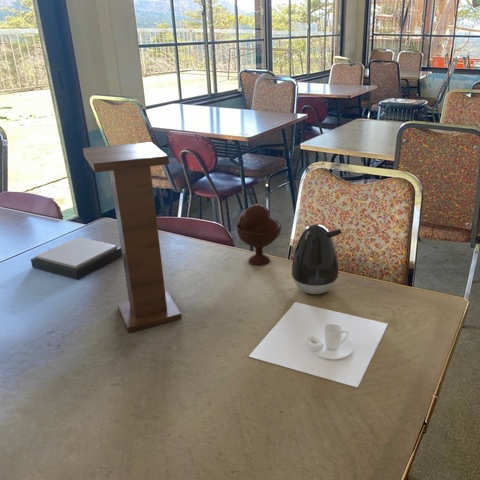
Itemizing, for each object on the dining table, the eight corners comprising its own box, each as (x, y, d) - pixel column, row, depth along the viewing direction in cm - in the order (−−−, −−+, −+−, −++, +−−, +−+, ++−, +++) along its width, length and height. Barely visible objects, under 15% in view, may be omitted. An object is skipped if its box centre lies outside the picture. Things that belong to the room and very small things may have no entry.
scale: (30, 267, 112) (28, 256, 111) (79, 245, 124) (77, 234, 123) (77, 279, 107) (75, 268, 106) (123, 255, 119) (121, 244, 118)
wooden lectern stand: (109, 301, 99) (82, 148, 86) (167, 287, 105) (150, 142, 92) (122, 334, 89) (94, 165, 76) (186, 317, 95) (170, 157, 82)
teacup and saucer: (299, 353, 85) (299, 334, 83) (315, 329, 92) (316, 311, 90) (345, 366, 82) (347, 346, 80) (359, 340, 89) (361, 322, 87)
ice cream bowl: (289, 263, 117) (289, 205, 111) (248, 274, 112) (246, 214, 105) (268, 248, 125) (268, 193, 119) (229, 257, 119) (226, 200, 113)
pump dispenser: (339, 301, 102) (342, 235, 96) (290, 299, 102) (290, 233, 96) (337, 278, 111) (340, 217, 105) (293, 277, 111) (293, 215, 105)
